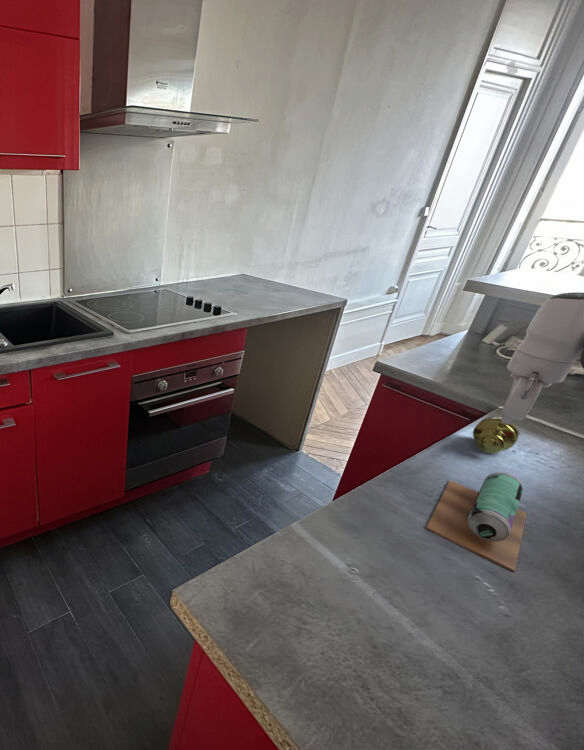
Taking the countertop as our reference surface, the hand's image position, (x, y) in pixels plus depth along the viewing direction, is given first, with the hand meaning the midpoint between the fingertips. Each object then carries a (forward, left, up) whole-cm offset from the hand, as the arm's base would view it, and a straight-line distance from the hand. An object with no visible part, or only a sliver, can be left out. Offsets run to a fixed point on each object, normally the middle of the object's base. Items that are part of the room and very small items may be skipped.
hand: (506, 421), depth 94 cm
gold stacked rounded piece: (-2, -5, -5) cm, 7 cm away
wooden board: (+9, +30, -9) cm, 33 cm away
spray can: (+4, +20, -6) cm, 21 cm away
